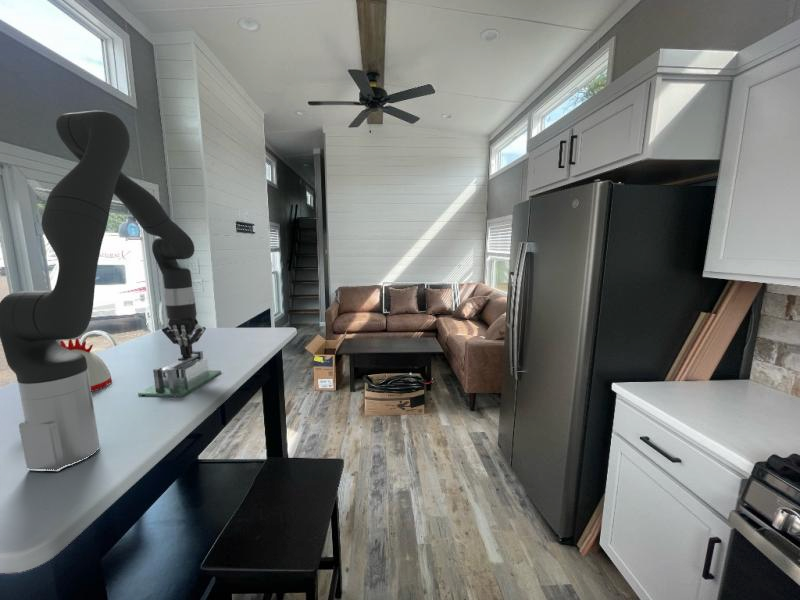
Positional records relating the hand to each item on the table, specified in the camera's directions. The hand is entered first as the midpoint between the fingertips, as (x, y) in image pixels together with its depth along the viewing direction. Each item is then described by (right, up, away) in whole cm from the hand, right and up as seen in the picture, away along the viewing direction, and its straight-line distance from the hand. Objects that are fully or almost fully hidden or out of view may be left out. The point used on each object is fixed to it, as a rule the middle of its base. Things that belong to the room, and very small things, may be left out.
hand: (187, 356), depth 102 cm
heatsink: (0, -8, -2) cm, 8 cm away
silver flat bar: (0, -2, -3) cm, 4 cm away
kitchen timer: (-29, -9, -4) cm, 31 cm away
